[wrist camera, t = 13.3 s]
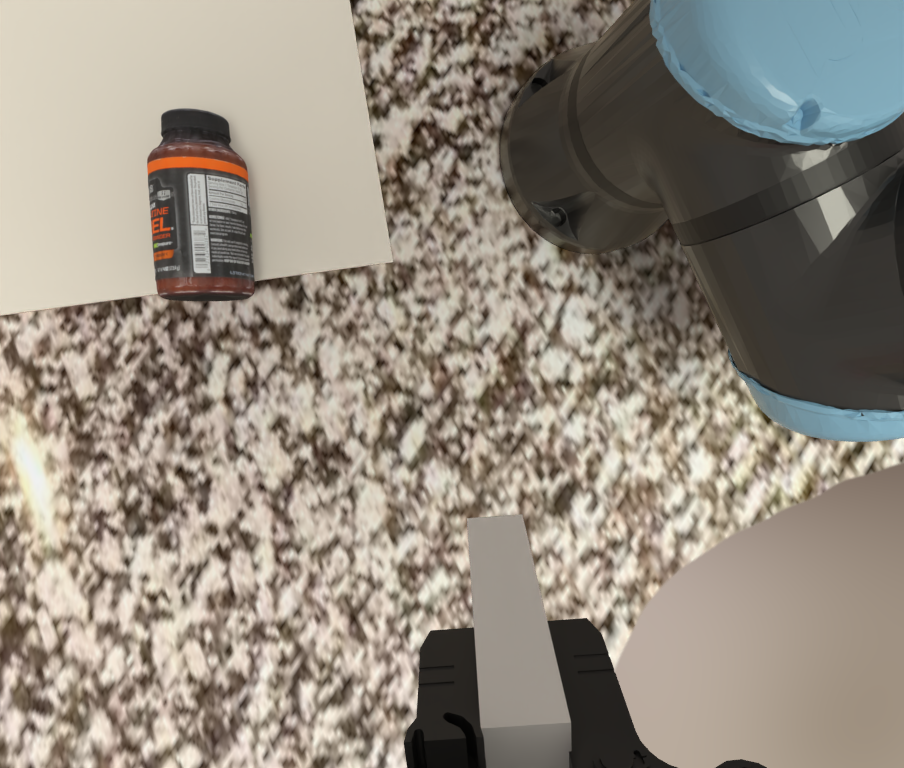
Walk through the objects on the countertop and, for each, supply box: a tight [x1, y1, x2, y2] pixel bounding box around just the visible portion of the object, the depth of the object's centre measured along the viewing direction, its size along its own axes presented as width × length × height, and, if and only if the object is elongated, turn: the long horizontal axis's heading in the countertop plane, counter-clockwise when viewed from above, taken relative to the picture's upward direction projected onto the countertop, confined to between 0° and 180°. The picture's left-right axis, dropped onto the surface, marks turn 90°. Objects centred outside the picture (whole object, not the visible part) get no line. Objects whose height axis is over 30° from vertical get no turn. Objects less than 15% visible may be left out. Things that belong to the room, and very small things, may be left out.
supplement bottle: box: [147, 108, 255, 301], centre depth 38 cm, size 6×6×11 cm
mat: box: [0, 0, 393, 316], centre depth 40 cm, size 26×20×1 cm
